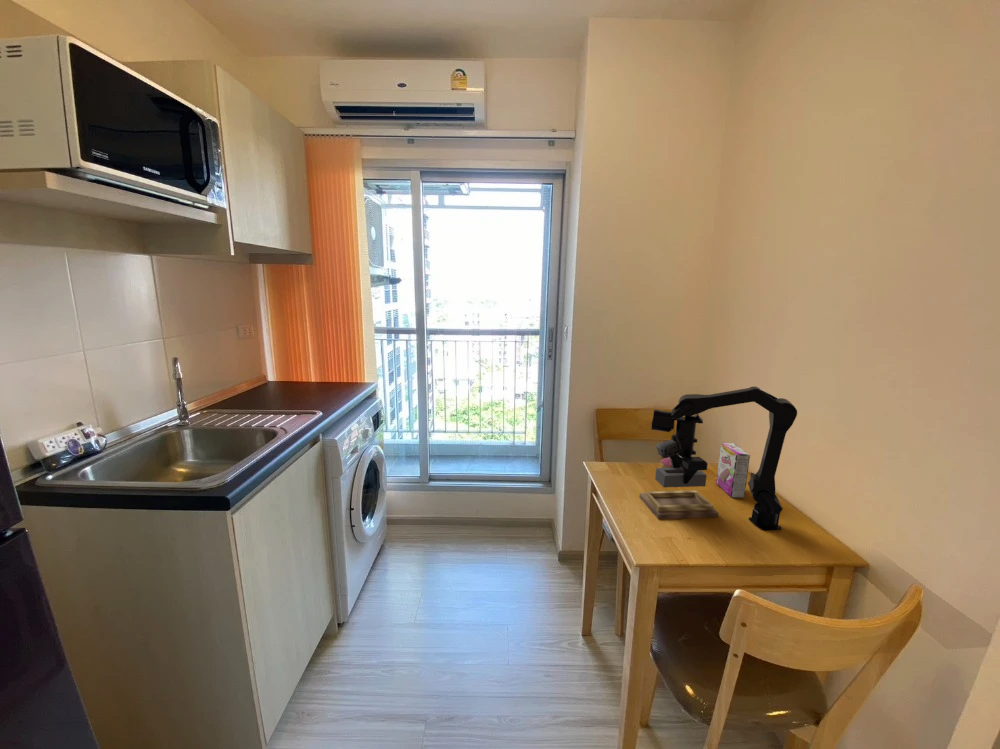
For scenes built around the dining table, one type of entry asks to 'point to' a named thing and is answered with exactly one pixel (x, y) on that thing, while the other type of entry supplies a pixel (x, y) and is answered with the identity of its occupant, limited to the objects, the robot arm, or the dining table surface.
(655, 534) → the dining table surface
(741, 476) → the candy bar box
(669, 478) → the dark gray frame
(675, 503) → the walnut board
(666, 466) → the cupcake
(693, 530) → the dining table surface
